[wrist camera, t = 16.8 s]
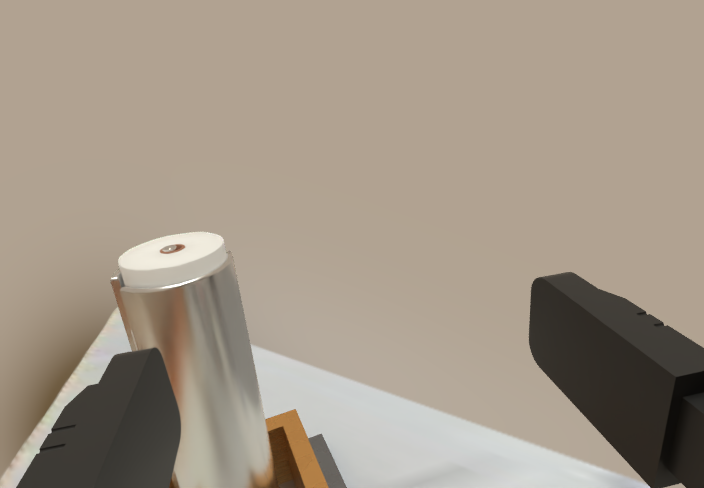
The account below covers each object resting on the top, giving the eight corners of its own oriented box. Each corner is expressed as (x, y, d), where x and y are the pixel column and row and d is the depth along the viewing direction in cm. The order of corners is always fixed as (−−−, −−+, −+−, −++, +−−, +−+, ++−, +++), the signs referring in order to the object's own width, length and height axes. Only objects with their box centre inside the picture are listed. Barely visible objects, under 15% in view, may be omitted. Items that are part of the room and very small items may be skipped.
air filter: (207, 528, 36) (123, 237, 27) (287, 508, 37) (231, 222, 28) (197, 617, 30) (86, 281, 21) (294, 590, 31) (225, 259, 22)
